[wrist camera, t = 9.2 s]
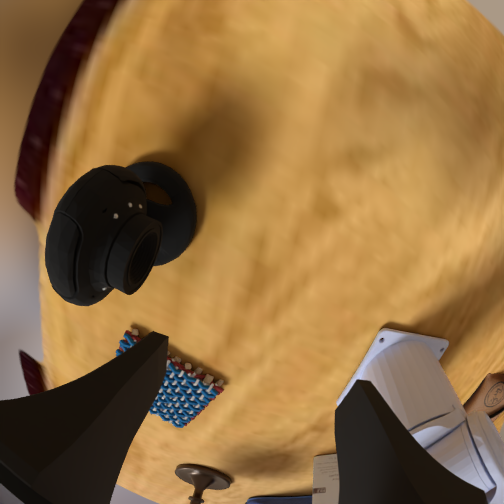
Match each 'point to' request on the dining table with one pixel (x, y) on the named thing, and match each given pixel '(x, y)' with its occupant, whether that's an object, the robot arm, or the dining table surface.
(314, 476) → the skincare box
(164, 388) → the woven mat
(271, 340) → the dining table surface
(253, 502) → the lunch bag
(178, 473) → the candlestick
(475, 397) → the sunglasses case
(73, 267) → the webcam
